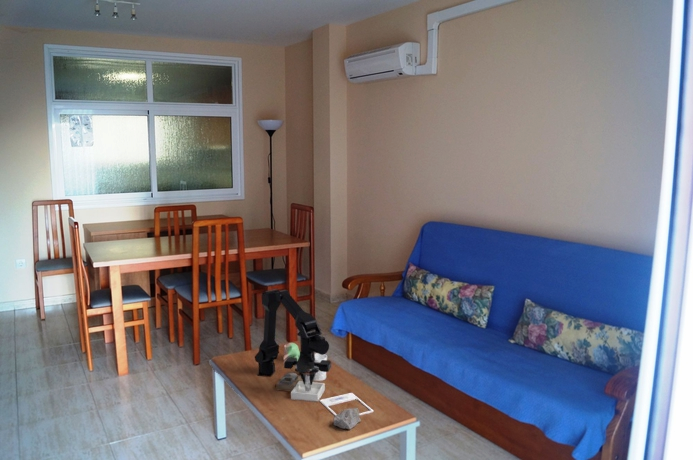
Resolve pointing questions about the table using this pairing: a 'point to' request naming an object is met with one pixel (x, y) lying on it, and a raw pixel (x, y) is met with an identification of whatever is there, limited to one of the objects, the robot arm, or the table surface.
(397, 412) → the table surface
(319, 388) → the tray
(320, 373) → the white cup
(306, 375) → the pin
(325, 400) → the photo frame
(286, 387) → the block
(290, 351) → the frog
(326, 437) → the table surface
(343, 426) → the stone
